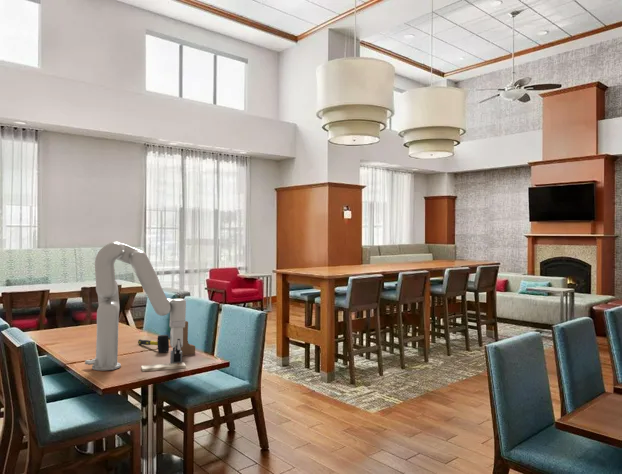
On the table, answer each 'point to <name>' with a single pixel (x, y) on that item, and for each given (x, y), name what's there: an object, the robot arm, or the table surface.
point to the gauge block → (173, 357)
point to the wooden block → (187, 348)
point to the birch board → (163, 366)
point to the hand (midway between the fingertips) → (176, 360)
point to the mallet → (158, 343)
